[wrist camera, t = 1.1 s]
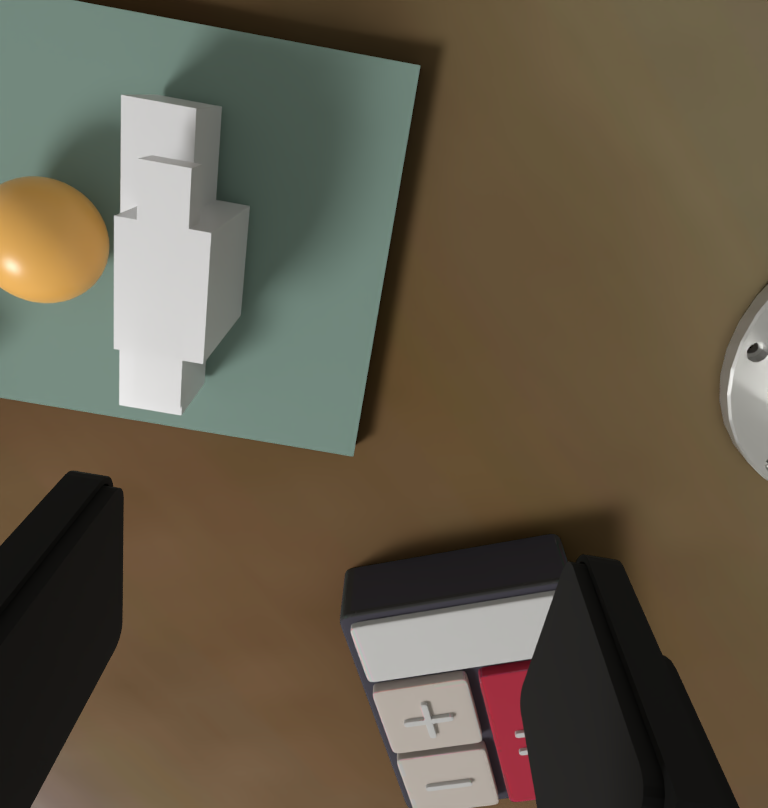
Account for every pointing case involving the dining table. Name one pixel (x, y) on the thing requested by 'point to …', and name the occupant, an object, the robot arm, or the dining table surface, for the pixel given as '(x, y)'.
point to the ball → (49, 240)
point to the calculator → (453, 664)
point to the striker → (172, 251)
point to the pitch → (237, 183)
